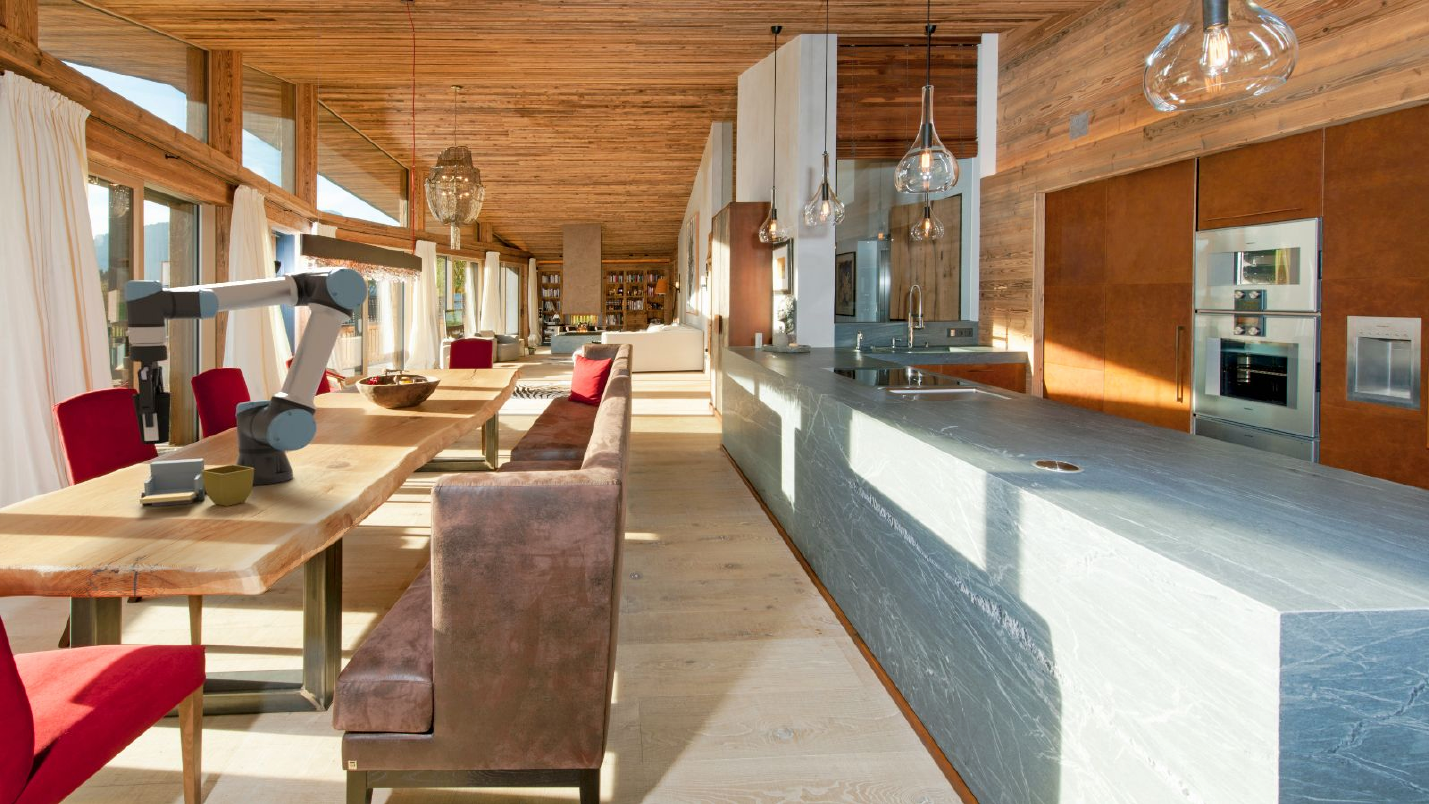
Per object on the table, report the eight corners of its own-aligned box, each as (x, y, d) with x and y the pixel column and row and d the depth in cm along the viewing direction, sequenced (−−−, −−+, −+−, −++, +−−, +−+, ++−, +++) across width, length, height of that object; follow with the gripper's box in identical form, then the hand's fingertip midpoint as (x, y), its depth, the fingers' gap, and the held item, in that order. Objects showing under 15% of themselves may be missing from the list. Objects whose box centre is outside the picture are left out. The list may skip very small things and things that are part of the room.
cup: (154, 445, 199) (150, 396, 197) (128, 444, 200) (124, 395, 199) (181, 440, 206) (178, 392, 204) (156, 438, 208) (152, 391, 206)
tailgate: (195, 491, 211) (190, 495, 203) (196, 495, 211) (190, 499, 203) (147, 495, 207) (139, 499, 199) (147, 499, 207) (139, 503, 199)
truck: (209, 490, 225) (207, 458, 223) (202, 502, 212) (200, 467, 211) (151, 495, 219) (149, 461, 218) (141, 507, 207) (138, 472, 206)
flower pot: (257, 501, 214) (255, 467, 212) (225, 509, 206) (222, 474, 205) (234, 497, 217) (232, 464, 216) (202, 505, 209) (199, 470, 208)
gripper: (139, 342, 208) (147, 431, 211) (118, 347, 189) (126, 445, 192) (174, 341, 211) (181, 430, 214) (156, 347, 192) (164, 443, 195)
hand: (155, 437), depth 203 cm, fingers closed on cup, 8 cm apart
